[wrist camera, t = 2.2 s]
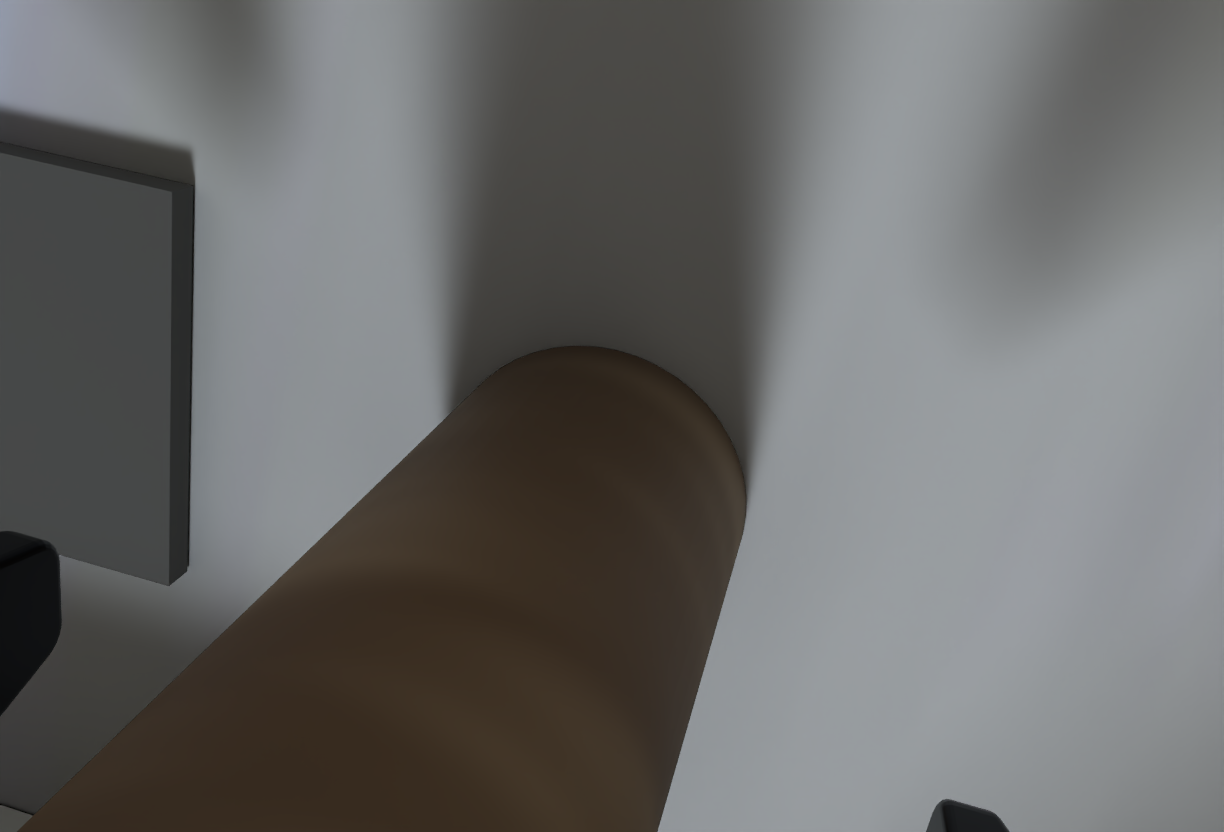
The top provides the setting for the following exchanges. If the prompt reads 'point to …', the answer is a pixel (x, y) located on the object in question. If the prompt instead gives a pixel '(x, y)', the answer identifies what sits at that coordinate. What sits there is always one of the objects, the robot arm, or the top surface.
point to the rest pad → (95, 361)
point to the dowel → (463, 632)
